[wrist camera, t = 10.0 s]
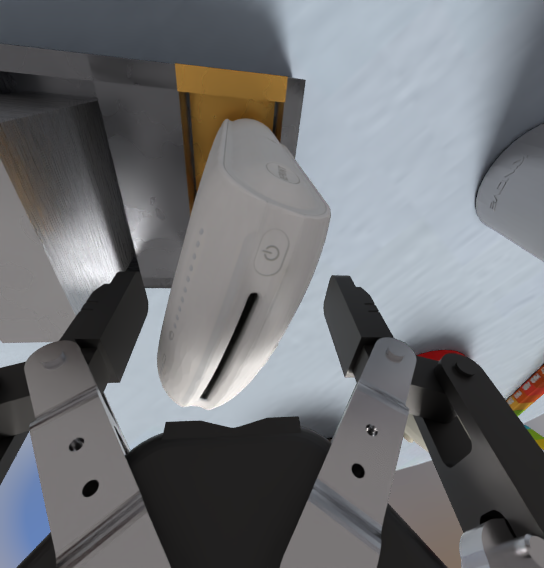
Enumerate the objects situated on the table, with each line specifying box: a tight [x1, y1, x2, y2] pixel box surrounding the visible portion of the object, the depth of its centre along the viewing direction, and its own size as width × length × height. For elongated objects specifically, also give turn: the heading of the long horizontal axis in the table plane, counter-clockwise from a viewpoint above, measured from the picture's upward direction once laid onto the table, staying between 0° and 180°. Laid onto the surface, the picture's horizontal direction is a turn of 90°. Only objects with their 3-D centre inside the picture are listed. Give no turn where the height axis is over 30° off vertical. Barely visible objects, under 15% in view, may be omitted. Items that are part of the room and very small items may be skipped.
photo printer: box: [157, 118, 331, 410], centre depth 13 cm, size 10×4×12 cm, turn 157°
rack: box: [0, 44, 306, 343], centre depth 16 cm, size 17×14×11 cm
